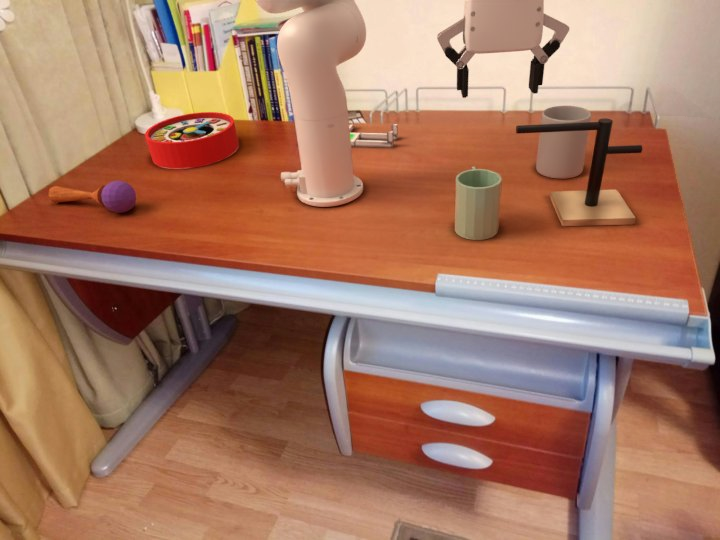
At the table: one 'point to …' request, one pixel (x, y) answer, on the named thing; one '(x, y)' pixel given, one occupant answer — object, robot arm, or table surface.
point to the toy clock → (192, 140)
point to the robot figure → (374, 138)
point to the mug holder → (590, 180)
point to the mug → (562, 143)
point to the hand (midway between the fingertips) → (498, 92)
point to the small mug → (477, 203)
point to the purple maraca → (99, 196)
